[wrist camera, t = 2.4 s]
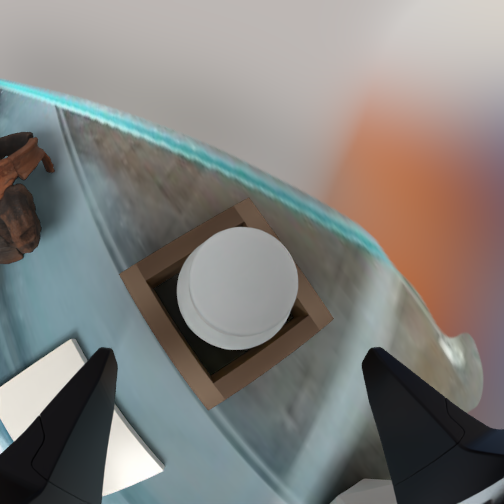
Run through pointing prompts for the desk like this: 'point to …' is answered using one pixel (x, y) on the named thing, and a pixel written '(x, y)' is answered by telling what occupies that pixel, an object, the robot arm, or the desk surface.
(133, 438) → the off-white coaster
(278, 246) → the supplement bottle
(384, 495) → the die
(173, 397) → the desk surface
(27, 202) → the broken brown clay pot
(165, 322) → the walnut holder
